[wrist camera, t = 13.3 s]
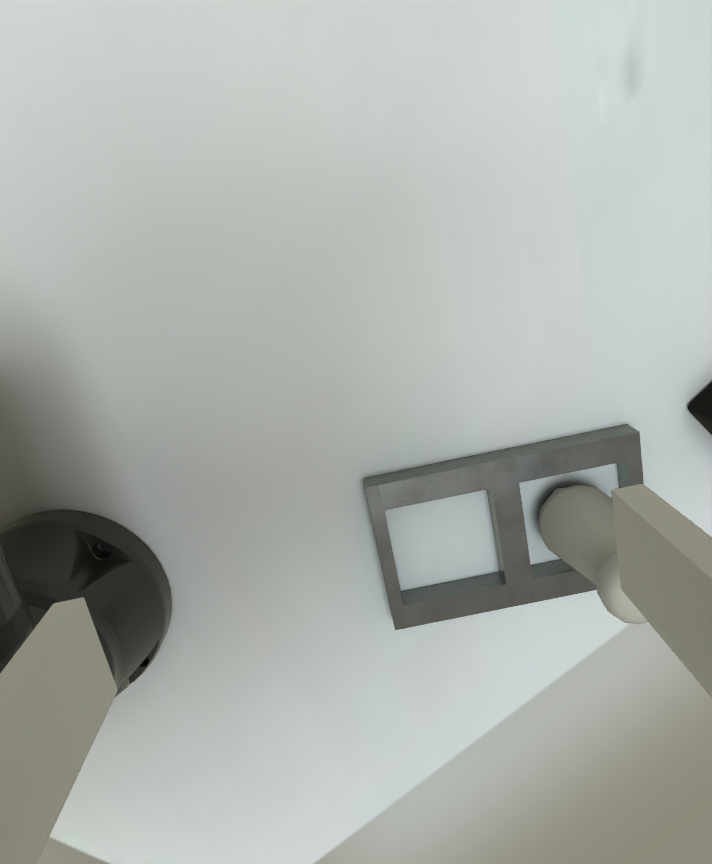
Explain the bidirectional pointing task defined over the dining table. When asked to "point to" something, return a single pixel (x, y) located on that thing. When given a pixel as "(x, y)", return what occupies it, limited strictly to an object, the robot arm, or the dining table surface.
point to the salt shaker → (588, 543)
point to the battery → (703, 408)
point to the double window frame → (495, 521)
